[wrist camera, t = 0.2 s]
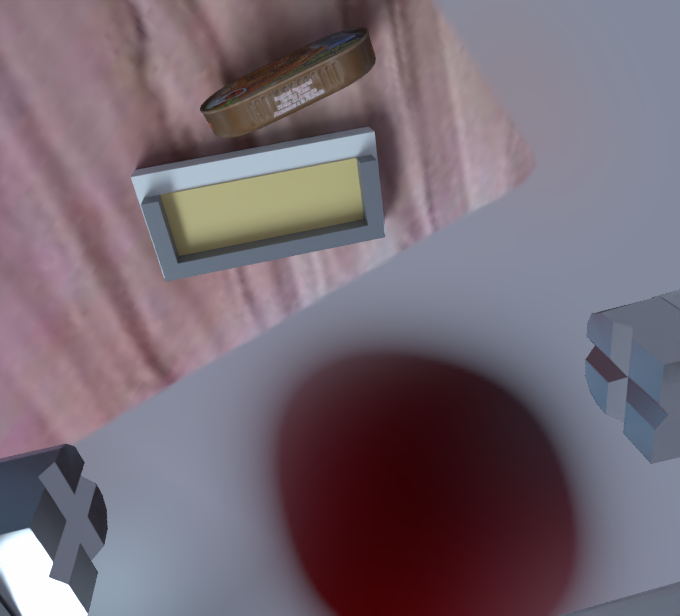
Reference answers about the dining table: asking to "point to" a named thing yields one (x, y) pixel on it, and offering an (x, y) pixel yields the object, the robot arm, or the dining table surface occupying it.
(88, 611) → the robot arm
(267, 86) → the tin
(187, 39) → the dining table surface
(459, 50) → the dining table surface
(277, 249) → the dock
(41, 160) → the dining table surface
